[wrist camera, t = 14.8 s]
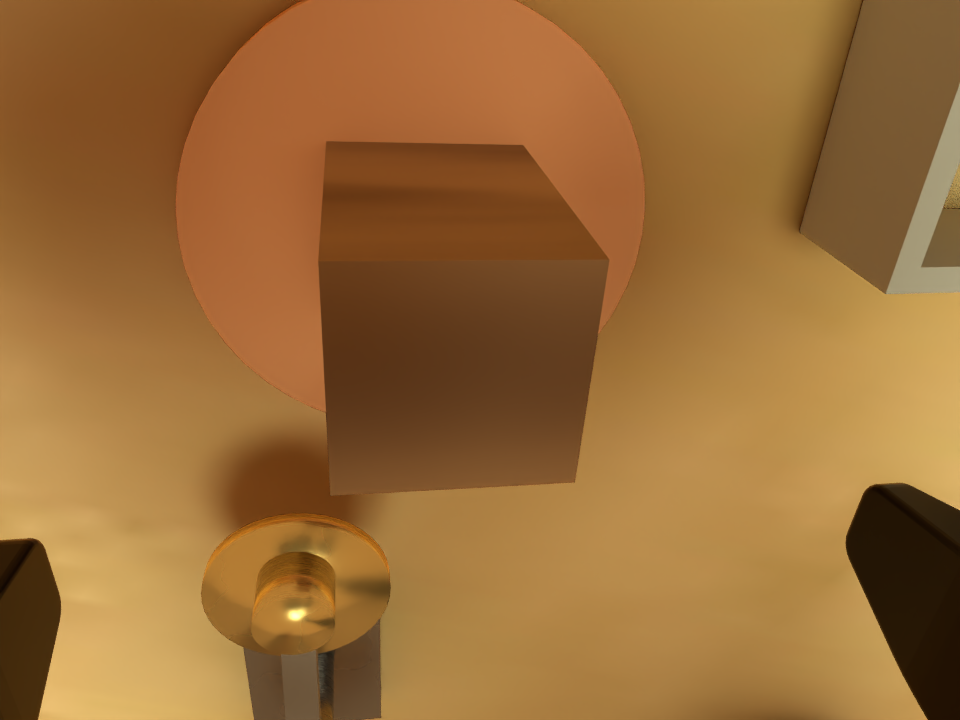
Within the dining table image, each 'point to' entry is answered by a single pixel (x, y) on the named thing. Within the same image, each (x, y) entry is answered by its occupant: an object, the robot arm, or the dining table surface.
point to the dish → (381, 118)
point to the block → (453, 318)
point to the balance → (303, 614)
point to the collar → (894, 151)
